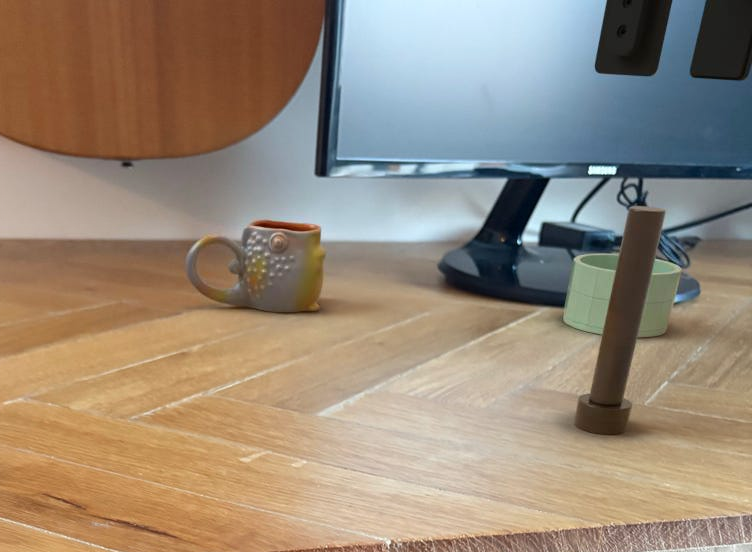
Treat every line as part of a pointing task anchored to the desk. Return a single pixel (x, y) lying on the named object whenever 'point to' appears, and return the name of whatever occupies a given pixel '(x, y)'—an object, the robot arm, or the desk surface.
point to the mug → (268, 267)
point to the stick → (622, 325)
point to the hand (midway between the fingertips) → (673, 77)
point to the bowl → (594, 291)
